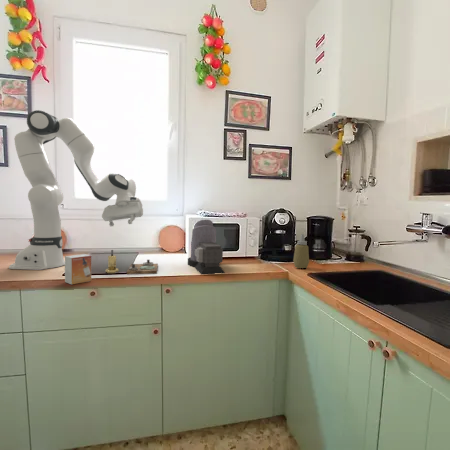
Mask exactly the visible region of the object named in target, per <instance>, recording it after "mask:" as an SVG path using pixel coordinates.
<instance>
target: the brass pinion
mask: <svg viewBox="0 0 450 450" xmlns="http://www.w3.org/2000/svg"><path fill="white" fill-rule="evenodd" d="M118 271H120V270H119V268H117V255H115V254H114V250H113V249H112V250H110V255H108V256H107V268H105V273H106V272H107V273H106V274H116V273H115V272H118ZM118 273H119V272H118Z"/></svg>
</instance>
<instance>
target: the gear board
mask: <svg viewBox="0 0 450 450" xmlns="http://www.w3.org/2000/svg"><path fill="white" fill-rule="evenodd" d="M158 267H159V265H158V263H154V261H153V262H152V261H150V259H146V261H144V262H143V263H130V264H129V267H128V269H127V270H126V275H142V274H144V275H145V274H146V275H148V274H150V275H151V274H157V272H158Z"/></svg>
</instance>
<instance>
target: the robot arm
mask: <svg viewBox="0 0 450 450" xmlns="http://www.w3.org/2000/svg"><path fill="white" fill-rule="evenodd" d="M26 124H27V127H28V129H27V130H26V131H21V132H20V131H19V132H18V133H17V134H15V135H14V145H15V151H16V154H17V158H18V159H19V162H20V165H21V168H22V171H23V174H24V175H25V177H26V178H27V180H28V182H29V183H30V186H31V188H30V189H29V191H28V193H27V199H28V201H29V203H30V204H29V205H30V210H31V214H32V218H33V219H32V220H33V235H34V236H33V237H31V238H29V239H27V241H28V243H29V245H28V246H26V247H25V248H23V249H22V250H20V251H19V252H18V253H17V254H16V256H15V259H14V263H11V264H10V265H9V266H8V269H9V270H31V271H33V270H34V271H35V270H36V271H37V270H38V271H40V270H46V269H53V268H58V267H59V268H60V267H62V266H65V257H64V255H63V236H62V219H61V217H60V212H59V211H60V210H59V206H60V205H61V204H62V202H63V200H64V194H63V192H62V189H61V187H60V185H59V182H58V181H57V178H56V177H55V174H54V172H53V169H52V167H51V164H50V162H49V159H48V155H47V153H46V149H45V147H44V145H45V144H46V143H49V142H51V141H53V140H55V139H56V138H59V139H60V140H61V141H62V142H63V143H64V144H65V145H66V146H67V148H68V149H69V150H70V152H71V153H72V156H73V163H74V165H75V166H76V168H77V170H78V171H79V172H80V174H81V176H82V178H83V179H84V181H85V182H86V183H87V185H88V186H89V188H90V190H91V193H92V195H93V196H94V198H96V199H97V200H98V201H102V202H107V201H109V200H110V199H111V198H112V197H113V196H115V195H116V199H115V204H112V205H107V206H105V207H104V209H103V212H102V214H101V218H102V220H103V221H104V222H109V224H108V225H109V227H114V225H115V224H114V221H119V220H120V221H121V220H127V219H128V220H127V224H128V225H132V224H133V222H134V221H135V219H136V218H141V217H143V215H144V208H143V203H142V201H141V199H140V198H139V197H138V196H136V193H137V190H136V189H137V187H136V182H135V181H134V180H133V178H130V177H124V176H123V175H121V174H120V173H117V172H110V173H109V174H107V175H105V177H104V178H102V179H100V180H99V178H98V176H97V175H96V173H95V172H94V170H93V168H92V166H91V161H92V157H93V155H94V151H95V144H94V141H93V140H92V138H91V137H90V136H89V134H88V133H87V132H86V131H85V130H84V129H83V128H82V127H81V126H80V125H79V124H78V123H77V121H75V120H73V118H69V117H64V118H62V119H58V118H57V117H56V116H54V115H52V114H50V113H48V112H45V111H44V110H43V111H42V110H39V109H38V110H33V111H31V112H29V113H28V115H27V116H26Z"/></svg>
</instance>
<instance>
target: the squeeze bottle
mask: <svg viewBox="0 0 450 450" xmlns="http://www.w3.org/2000/svg"><path fill="white" fill-rule="evenodd" d="M307 242H308V241H307V240H305V235H304V234H303V233H302V234H301V235H300V238H299V240H297V244H296V245H295V247H294V253H293V265H294V268H295V267H297V268H296V269H298V268H306V269H308V266H309V264H310V254H309V246H308V245H307V244H308V243H307Z"/></svg>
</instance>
